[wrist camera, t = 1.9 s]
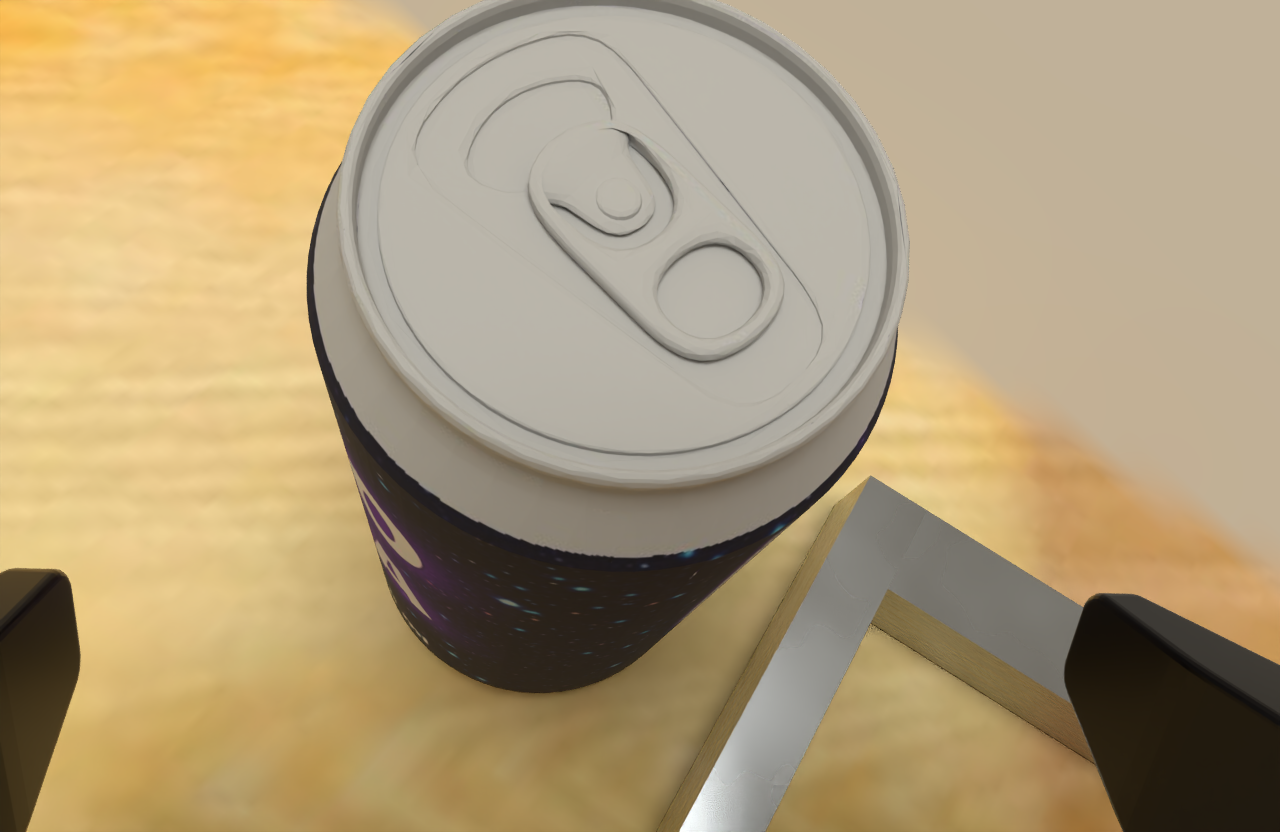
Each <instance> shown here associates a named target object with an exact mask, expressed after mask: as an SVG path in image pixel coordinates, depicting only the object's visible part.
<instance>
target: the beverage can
mask: <svg viewBox="0 0 1280 832" xmlns="http://www.w3.org/2000/svg"><path fill="white" fill-rule="evenodd" d="M909 249H910V241H909V234H908V226H907V219H906V212H905V204H904V201H903V198H902V195H901V191H900V188H899V185H898V181H897V178H896V175H895V172H894V168H893V166H892V164H891V162H890V160H889V158H888V156H887V154H886V152H885V150H884V147H883V145H882V143H881V141H880V139H879V137H878V135H877V133H876V132H875V130H874V129H873V127H872V126H871V124H870V123H869V121H868V120H867V118H866V117H865V115H864V114H863V112H862V111H861V109H860V108H859V106H858V105H857V103H856V102H855V101H854V99H853V98H852V97H851V96H850V95H849V94H848V93H847V91H846V90H845V89H844V88H843V87H842V86H841V85H840V84H839V83H838V82H837V80H836V79H835V78H834V77H833V76H832V75H831V74H830V73H829V71H828V70H826V69H825V68H824V67H823V66H822V65H821V64H819V63H818V62H817V61H816V60H815V59H814V58H813V57H811V56H810V55H809V54H808V53H807V52H806V51H804V50H803V49H802V48H801V47H799V45H797V44H796V43H794V42H793V41H791V40H790V39H788V38H787V37H785V36H784V35H782V34H781V33H779V32H777V31H776V30H774V29H773V28H771V27H770V26H768V25H767V24H765V23H764V22H762V21H760V20H758V19H756V18H753V17H752V16H750V15H748V14H746V13H744V12H742V11H740V10H738V9H736V8H734V7H732V6H730V5H728V4H725V3H722V2H719V1H717V0H483V1H481V2H479V3H477V4H475V5H473V6H471V7H469V8H467V9H465V10H463V11H460V12H458V13H456V14H454V15H452V16H451V17H450V18H448V19H446V20H445V21H443V22H442V23H441V24H439V25H438V26H436V27H435V28H434V29H432V30H430V31H429V32H427V33H426V34H425V35H423V36H422V37H420V38H419V39H418V40H417V41H416V42H415V43H414V44H413V45H412V46H411V47H410V48H409V49H408V50H407V51H406V52H404V53H403V54H402V55H401V56H400V57H399V58H398V59H397V60H396V61H395V62H394V63H393V64H392V65H391V66H390V68H389V69H388V70H387V72H386V73H385V75H384V76H383V77H382V79H381V80H380V81H379V83H378V84H377V86H376V87H375V88H374V90H373V91H372V92H371V94H370V95H369V96H368V98H367V100H366V102H365V104H364V106H363V108H362V111H361V113H360V115H359V117H358V119H357V121H356V123H355V125H354V127H353V129H352V131H351V134H350V137H349V140H348V143H347V146H346V150H345V153H344V157H343V161H342V162H341V164H340V166H339V167H338V169H337V171H336V172H335V174H334V176H333V178H332V180H331V182H330V184H329V186H328V189H327V191H326V193H325V195H324V198H323V201H322V203H321V206H320V209H319V211H318V214H317V218H316V222H315V225H314V229H313V233H312V238H311V244H310V249H309V255H308V267H307V305H308V315H309V323H310V328H311V333H312V339H313V343H314V347H315V350H316V354H317V357H318V361H319V365H320V368H321V371H322V374H323V377H324V381H325V384H326V387H327V390H328V394H329V397H330V400H331V403H332V406H333V410H334V413H335V416H336V419H337V423H338V426H339V429H340V432H341V435H342V439H343V442H344V445H345V448H346V452H347V455H348V458H349V461H350V464H351V468H352V471H353V474H354V477H355V481H356V484H357V487H358V490H359V493H360V497H361V500H362V503H363V506H364V510H365V513H366V516H367V519H368V523H369V526H370V529H371V532H372V535H373V539H374V542H375V545H376V548H377V552H378V555H379V558H380V561H381V564H382V568H383V571H384V574H385V577H386V581H387V584H388V587H389V589H390V592H391V595H392V597H393V599H394V602H395V604H396V606H397V608H398V610H399V611H400V613H401V615H402V617H403V618H404V620H405V621H406V623H407V624H408V626H409V627H410V629H411V630H412V631H413V632H414V634H415V635H416V636H417V637H418V639H419V640H420V641H421V642H422V643H423V644H424V645H425V646H426V647H427V648H428V649H429V650H430V651H431V652H432V653H434V654H435V655H436V656H437V657H438V658H440V659H441V660H442V661H444V662H445V663H446V664H448V665H449V666H451V667H452V668H454V669H456V670H457V671H459V672H461V673H462V674H464V675H466V676H468V677H470V678H472V679H475V680H477V681H480V682H482V683H485V684H488V685H491V686H494V687H498V688H502V689H506V690H512V691H519V692H529V693H550V692H561V691H566V690H572V689H576V688H580V687H584V686H588V685H590V684H593V683H596V682H599V681H601V680H603V679H606V678H608V677H610V676H612V675H614V674H616V673H617V672H619V671H621V670H623V669H624V668H626V667H627V666H629V665H630V664H632V663H633V662H634V661H636V660H637V659H638V658H640V657H641V656H642V655H643V654H644V653H646V652H647V651H648V650H649V649H650V648H651V647H652V646H654V645H655V644H656V643H657V642H658V641H659V640H660V639H661V638H663V637H664V636H665V635H666V634H667V633H668V632H669V631H671V630H672V629H673V628H674V627H675V626H676V625H677V624H678V623H680V622H681V621H682V620H683V619H684V618H685V617H686V616H688V615H689V614H690V613H691V612H692V611H693V610H694V609H696V608H697V607H698V606H699V605H700V604H701V603H702V602H703V601H705V600H706V599H707V598H708V597H709V596H710V595H711V594H713V593H714V592H715V591H716V590H717V589H718V588H719V587H720V586H722V585H723V584H724V583H725V582H726V581H727V580H728V579H730V578H731V577H732V576H733V575H734V574H735V573H736V572H737V571H739V570H740V569H741V568H742V567H743V566H744V565H745V564H747V563H748V562H749V561H750V560H751V559H752V558H753V557H755V556H756V555H757V554H758V553H759V552H760V551H761V550H762V549H764V548H765V547H766V546H767V545H768V544H769V543H770V542H772V541H773V540H774V539H775V538H776V537H777V536H778V535H779V534H781V533H782V532H783V531H784V530H785V529H786V528H787V527H789V526H790V525H791V524H792V523H793V522H794V521H795V520H797V519H798V518H799V517H800V516H801V515H802V514H803V513H804V512H806V511H807V510H808V509H809V508H810V507H811V506H812V505H813V504H815V503H816V502H817V501H818V500H819V499H820V498H821V497H822V496H823V495H824V494H825V493H827V492H828V491H829V490H830V488H831V487H832V486H833V485H834V484H835V483H836V482H837V481H838V480H839V479H840V477H841V476H842V475H843V474H844V473H845V471H846V470H847V469H848V467H849V466H850V465H851V464H852V462H853V461H854V460H855V458H856V457H857V455H858V454H859V452H860V450H861V449H862V447H863V446H864V444H865V443H866V441H867V439H868V437H869V435H870V433H871V431H872V430H873V428H874V426H875V424H876V422H877V419H878V417H879V414H880V412H881V410H882V407H883V405H884V402H885V399H886V396H887V392H888V389H889V386H890V383H891V378H892V373H893V369H894V364H895V357H896V349H897V337H898V324H899V321H900V318H901V314H902V310H903V306H904V301H905V296H906V291H907V286H908V275H909Z"/></svg>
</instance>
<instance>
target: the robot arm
mask: <svg viewBox="0 0 1280 832" xmlns="http://www.w3.org/2000/svg"><path fill="white" fill-rule="evenodd" d="M80 656H81V654H80V645H79V638H78V631H77V623H76V616H75V609H74V602H73V594H72V588H71V584H70V581H69V579H68V577H67V575H66V574H65V573H64V572H62V571H61V570H57V569H28V568H14V569H8V570H6V571H4V572H2V573H0V832H26V831H27V828H28V825H29V822H30V820H31V817H32V814H33V811H34V808H35V805H36V802H37V799H38V796H39V793H40V790H41V787H42V784H43V781H44V778H45V775H46V772H47V769H48V766H49V763H50V761H51V758H52V755H53V752H54V749H55V746H56V743H57V740H58V737H59V734H60V731H61V728H62V725H63V722H64V719H65V716H66V713H67V710H68V707H69V704H70V701H71V698H72V695H73V693H74V690H75V687H76V683H77V680H78V676H79V671H80ZM1064 683H1065V688H1066V691H1067V694H1068V697H1069V699H1070V702H1071V704H1072V707H1073V709H1074V712H1075V714H1076V717H1077V719H1078V722H1079V724H1080V727H1081V729H1082V732H1083V734H1084V737H1085V739H1086V742H1087V744H1088V747H1089V749H1090V752H1091V754H1092V757H1093V759H1094V762H1095V764H1096V767H1097V769H1098V772H1099V774H1100V777H1101V779H1102V782H1103V784H1104V787H1105V789H1106V792H1107V794H1108V797H1109V799H1110V802H1111V804H1112V807H1113V809H1114V812H1115V814H1116V816H1117V819H1118V821H1119V823H1120V825H1121V828H1122V830H1123V832H1280V665H1278V664H1276V663H1274V662H1272V661H1270V660H1268V659H1266V658H1264V657H1262V656H1260V655H1258V654H1256V653H1254V652H1252V651H1250V650H1248V649H1246V648H1244V647H1242V646H1240V645H1238V644H1236V643H1234V642H1232V641H1230V640H1228V639H1226V638H1224V637H1222V636H1220V635H1218V634H1216V633H1214V632H1212V631H1210V630H1208V629H1206V628H1204V627H1201V626H1199V625H1197V624H1195V623H1193V622H1191V621H1189V620H1187V619H1185V618H1183V617H1181V616H1179V615H1177V614H1175V613H1173V612H1171V611H1169V610H1167V609H1165V608H1163V607H1161V606H1159V605H1157V604H1155V603H1153V602H1151V601H1149V600H1147V599H1145V598H1143V597H1141V596H1138V595H1134V594H1112V593H1099V594H1095V595H1094V596H1092V597H1090V598H1089V599H1088V600H1087V602H1086V603H1085V605H1084V607H1083V610H1082V613H1081V616H1080V619H1079V622H1078V625H1077V628H1076V631H1075V634H1074V637H1073V639H1072V642H1071V645H1070V648H1069V651H1068V654H1067V657H1066V660H1065V665H1064Z"/></svg>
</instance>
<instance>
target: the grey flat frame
mask: <svg viewBox="0 0 1280 832" xmlns="http://www.w3.org/2000/svg"><path fill="white" fill-rule="evenodd" d="M1082 610H1083V607H1082V606H1080V605H1078V604H1077V603H1075V602H1074V601H1072V600H1070V599H1069V598H1067V597H1065V596H1064V595H1062V594H1061V593H1059V592H1057V591H1056V590H1054V589H1053V588H1051V587H1049V586H1048V585H1046V584H1045V583H1043V582H1041V581H1040V580H1038V579H1036V578H1035V577H1033V576H1032V575H1030V574H1028V573H1027V572H1025V571H1024V570H1022V569H1020V568H1019V567H1017V566H1016V565H1014V564H1012V563H1011V562H1009V561H1007V560H1006V559H1004V558H1003V557H1001V556H999V555H998V554H996V553H995V552H993V551H991V550H990V549H988V548H987V547H985V546H983V545H982V544H980V543H978V542H977V541H975V540H974V539H972V538H970V537H969V536H967V535H966V534H964V533H962V532H961V531H959V530H958V529H956V528H954V527H953V526H951V525H949V524H948V523H946V522H945V521H943V520H941V519H940V518H938V517H937V516H935V515H933V514H932V513H930V512H929V511H927V510H925V509H924V508H922V507H920V506H919V505H917V504H916V503H914V502H912V501H911V500H909V499H908V498H906V497H904V496H903V495H901V494H900V493H898V492H896V491H895V490H893V489H892V488H890V487H888V486H887V485H885V484H883V483H882V482H880V481H879V480H877V479H875V478H874V477H872V476H869V477H868V478H867V479H866V480H865V481H863V482H862V483H861V484H860V485H859V486H857V487H856V488H855V489H854V490H852V491H851V492H850V493H849V494H848V495H846V496H845V497H844V498H843V499H842V500H840V501H839V502H838V503H837V504H836V505H835V506H834V508H833V509H832V511H831V513H830V515H829V517H828V519H827V520H826V522H825V524H824V526H823V528H822V529H821V531H820V533H819V535H818V537H817V539H816V540H815V542H814V544H813V546H812V548H811V550H810V551H809V553H808V555H807V557H806V559H805V561H804V562H803V564H802V566H801V568H800V570H799V572H798V573H797V575H796V577H795V579H794V581H793V583H792V584H791V586H790V588H789V590H788V592H787V594H786V595H785V597H784V599H783V601H782V603H781V605H780V606H779V608H778V610H777V612H776V614H775V615H774V617H773V619H772V621H771V623H770V625H769V626H768V628H767V630H766V632H765V634H764V636H763V637H762V639H761V641H760V643H759V645H758V647H757V648H756V650H755V652H754V654H753V656H752V658H751V659H750V661H749V663H748V665H747V667H746V669H745V670H744V672H743V674H742V676H741V678H740V680H739V681H738V683H737V685H736V687H735V689H734V691H733V692H732V694H731V696H730V698H729V700H728V702H727V703H726V705H725V707H724V709H723V711H722V712H721V714H720V716H719V718H718V720H717V722H716V723H715V725H714V727H713V729H712V731H711V733H710V734H709V736H708V738H707V740H706V742H705V744H704V745H703V747H702V749H701V751H700V753H699V755H698V756H697V758H696V760H695V762H694V764H693V766H692V767H691V769H690V771H689V773H688V775H687V777H686V778H685V780H684V782H683V784H682V786H681V788H680V789H679V791H678V793H677V795H676V797H675V799H674V800H673V802H672V804H671V806H670V808H669V809H668V811H667V813H666V815H665V817H664V819H663V820H662V822H661V824H660V826H659V828H658V830H657V831H656V832H765V831H766V829H767V827H768V825H769V823H770V821H771V819H772V817H773V815H774V813H775V811H776V809H777V807H778V805H779V804H780V802H781V800H782V798H783V796H784V794H785V792H786V790H787V788H788V786H789V784H790V782H791V780H792V778H793V776H794V774H795V772H796V770H797V768H798V766H799V764H800V762H801V760H802V758H803V756H804V754H805V752H806V750H807V748H808V746H809V744H810V742H811V740H812V738H813V736H814V734H815V732H816V730H817V728H818V726H819V724H820V722H821V720H822V718H823V716H824V714H825V712H826V710H827V708H828V706H829V704H830V702H831V700H832V698H833V696H834V694H835V692H836V691H837V689H838V687H839V685H840V683H841V681H842V679H843V677H844V675H845V673H846V671H847V669H848V667H849V665H850V663H851V661H852V659H853V657H854V655H855V653H856V651H857V649H858V647H859V645H860V643H861V641H862V639H863V637H864V635H865V633H866V631H867V629H868V627H869V625H870V623H872V624H874V625H875V626H877V627H878V628H880V629H882V630H883V631H885V632H886V633H888V634H889V635H891V636H893V637H894V638H896V639H897V640H899V641H901V642H902V643H904V644H905V645H907V646H909V647H910V648H912V649H913V650H915V651H916V652H918V653H920V654H921V655H923V656H924V657H926V658H928V659H929V660H931V661H932V662H934V663H936V664H937V665H939V666H940V667H942V668H943V669H945V670H947V671H948V672H950V673H951V674H953V675H955V676H956V677H958V678H959V679H961V680H962V681H964V682H966V683H967V684H969V685H970V686H972V687H974V688H975V689H977V690H978V691H980V692H982V693H983V694H985V695H986V696H988V697H989V698H991V699H993V700H994V701H996V702H997V703H999V704H1001V705H1002V706H1004V707H1005V708H1007V709H1009V710H1010V711H1012V712H1013V713H1015V714H1016V715H1018V716H1020V717H1021V718H1023V719H1024V720H1026V721H1028V722H1029V723H1031V724H1032V725H1034V726H1036V727H1037V728H1039V729H1040V730H1042V731H1043V732H1045V733H1047V734H1048V735H1050V736H1051V737H1053V738H1055V739H1056V740H1058V741H1059V742H1061V743H1063V744H1064V745H1066V746H1067V747H1069V748H1070V749H1072V750H1074V751H1075V752H1077V753H1078V754H1080V755H1082V756H1083V757H1085V758H1086V759H1088V760H1090V761H1091V762H1093V763H1094V764H1095V762H1094V759H1093V757H1092V754H1091V752H1090V749H1089V747H1088V744H1087V742H1086V739H1085V737H1084V734H1083V732H1082V729H1081V727H1080V724H1079V722H1078V719H1077V717H1076V714H1075V712H1074V709H1073V707H1072V704H1071V702H1070V699H1069V697H1068V694H1067V691H1066V688H1065V683H1064V665H1065V660H1066V657H1067V654H1068V651H1069V648H1070V645H1071V642H1072V639H1073V637H1074V634H1075V631H1076V628H1077V625H1078V622H1079V619H1080V616H1081V613H1082Z"/></svg>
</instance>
